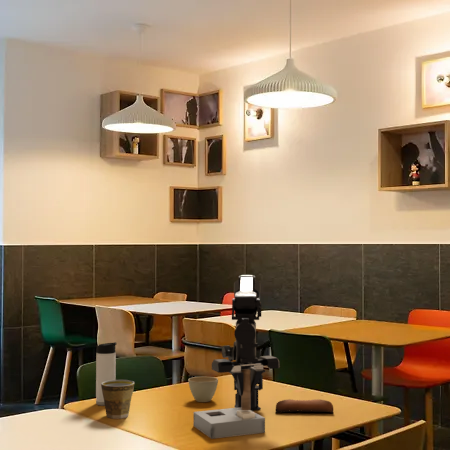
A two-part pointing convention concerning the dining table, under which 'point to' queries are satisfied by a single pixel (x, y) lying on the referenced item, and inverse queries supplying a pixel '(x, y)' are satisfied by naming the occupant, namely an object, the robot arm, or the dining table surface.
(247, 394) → the tan rounded rod
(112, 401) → the ceramic cup
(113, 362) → the travel mug
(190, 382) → the flower pot
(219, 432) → the panel
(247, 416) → the on button
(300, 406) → the sunglasses case
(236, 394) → the robot arm
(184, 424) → the dining table surface
